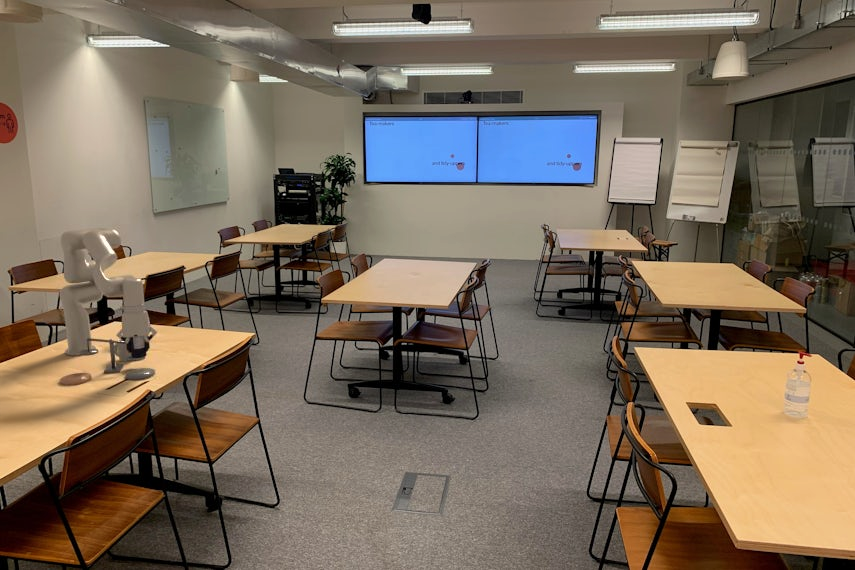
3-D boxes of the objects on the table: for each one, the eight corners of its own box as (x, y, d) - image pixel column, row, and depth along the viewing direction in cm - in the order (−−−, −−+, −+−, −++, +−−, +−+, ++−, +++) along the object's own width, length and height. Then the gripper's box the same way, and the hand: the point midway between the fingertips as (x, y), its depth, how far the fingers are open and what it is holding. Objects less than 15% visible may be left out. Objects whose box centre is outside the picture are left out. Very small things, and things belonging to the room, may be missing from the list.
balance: (84, 369, 262) (80, 336, 259) (147, 364, 268) (144, 332, 265) (79, 375, 254) (75, 341, 251) (144, 370, 261) (141, 337, 258)
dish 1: (65, 376, 252) (64, 374, 252) (94, 374, 255) (94, 371, 255) (56, 386, 242) (56, 383, 242) (87, 383, 245) (87, 381, 245)
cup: (131, 362, 270) (129, 343, 268) (109, 361, 271) (107, 342, 269) (140, 357, 277) (138, 338, 275) (119, 356, 278) (117, 337, 276)
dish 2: (128, 372, 259) (128, 369, 258) (157, 369, 262) (156, 367, 261) (123, 381, 248) (123, 378, 248) (153, 378, 251) (152, 376, 251)
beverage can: (149, 355, 256) (146, 328, 254) (143, 360, 251) (140, 331, 248) (135, 355, 256) (132, 328, 254) (129, 360, 250) (126, 331, 248)
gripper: (109, 312, 243) (113, 355, 247) (156, 309, 248) (159, 352, 251) (113, 307, 250) (117, 350, 254) (158, 305, 255) (162, 347, 259)
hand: (138, 350), depth 253 cm, fingers closed on beverage can, 5 cm apart
